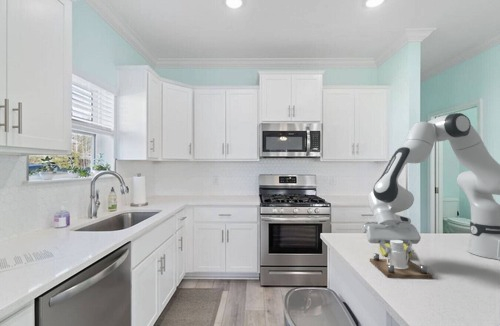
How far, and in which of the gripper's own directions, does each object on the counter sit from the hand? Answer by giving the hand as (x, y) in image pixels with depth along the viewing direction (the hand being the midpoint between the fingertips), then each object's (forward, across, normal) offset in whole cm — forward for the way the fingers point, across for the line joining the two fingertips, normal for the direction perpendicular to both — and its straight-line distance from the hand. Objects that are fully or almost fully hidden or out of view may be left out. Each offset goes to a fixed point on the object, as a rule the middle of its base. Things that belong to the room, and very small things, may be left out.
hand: (399, 252), depth 100 cm
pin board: (+4, 0, +5) cm, 7 cm away
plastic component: (-10, +9, +21) cm, 25 cm away
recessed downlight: (+4, 0, +4) cm, 6 cm away
